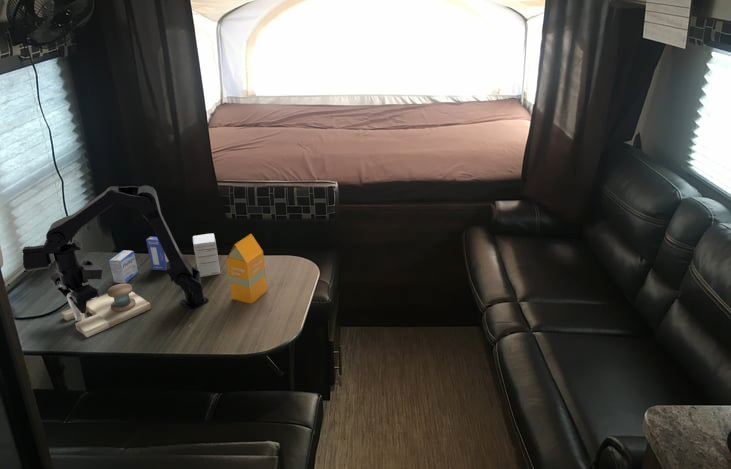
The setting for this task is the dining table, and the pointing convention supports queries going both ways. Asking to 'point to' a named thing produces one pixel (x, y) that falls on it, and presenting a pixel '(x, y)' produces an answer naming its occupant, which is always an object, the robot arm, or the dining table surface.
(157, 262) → the walkman
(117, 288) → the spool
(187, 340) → the dining table surface
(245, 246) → the orange juice
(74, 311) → the milkshake
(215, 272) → the supplement box
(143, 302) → the board
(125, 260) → the medicine box
